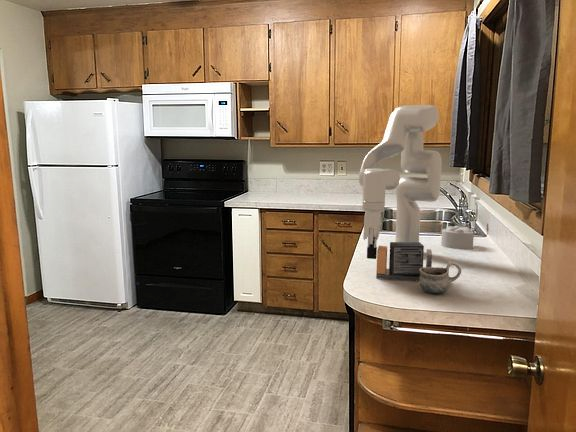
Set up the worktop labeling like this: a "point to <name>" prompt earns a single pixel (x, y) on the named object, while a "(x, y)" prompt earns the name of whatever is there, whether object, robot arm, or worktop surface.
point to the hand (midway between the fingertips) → (371, 258)
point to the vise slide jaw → (381, 259)
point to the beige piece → (457, 237)
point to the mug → (437, 278)
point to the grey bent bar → (406, 277)
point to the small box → (406, 258)
